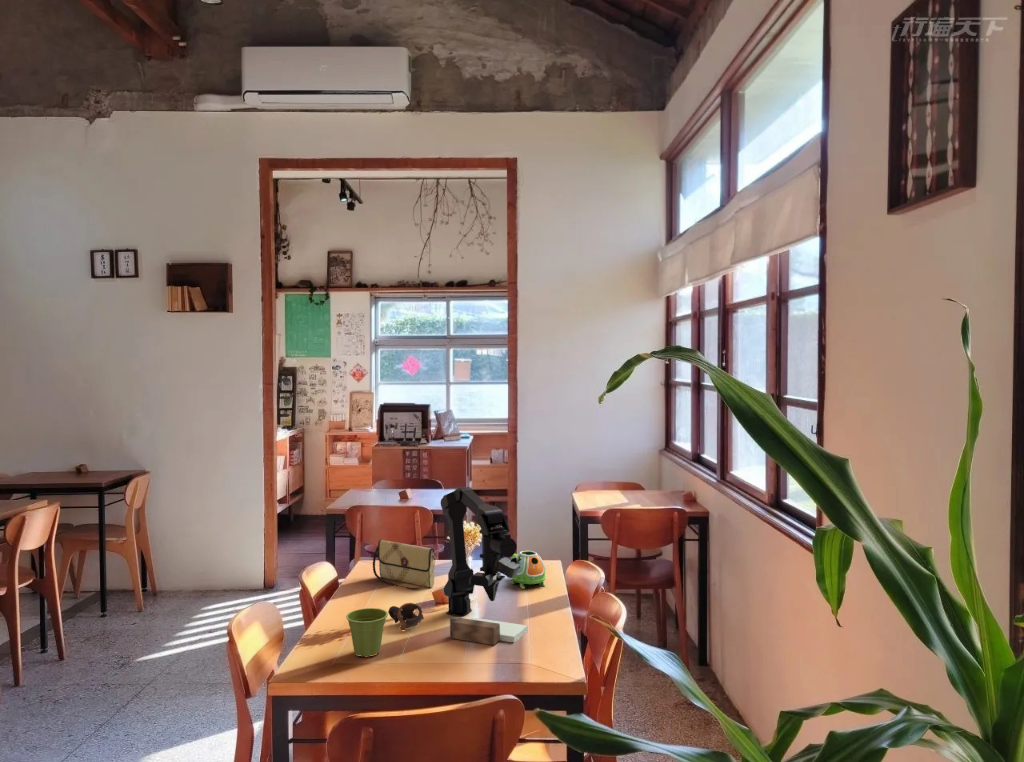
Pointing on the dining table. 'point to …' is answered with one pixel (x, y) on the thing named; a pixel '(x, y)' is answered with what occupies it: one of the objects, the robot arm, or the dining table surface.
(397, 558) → the clutch purse
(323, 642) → the dining table surface
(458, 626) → the folding leg
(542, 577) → the turtle holder
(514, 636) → the pale green flat block
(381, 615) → the plant pot
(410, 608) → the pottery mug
